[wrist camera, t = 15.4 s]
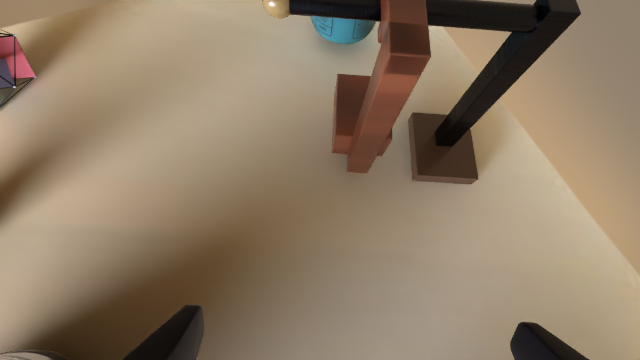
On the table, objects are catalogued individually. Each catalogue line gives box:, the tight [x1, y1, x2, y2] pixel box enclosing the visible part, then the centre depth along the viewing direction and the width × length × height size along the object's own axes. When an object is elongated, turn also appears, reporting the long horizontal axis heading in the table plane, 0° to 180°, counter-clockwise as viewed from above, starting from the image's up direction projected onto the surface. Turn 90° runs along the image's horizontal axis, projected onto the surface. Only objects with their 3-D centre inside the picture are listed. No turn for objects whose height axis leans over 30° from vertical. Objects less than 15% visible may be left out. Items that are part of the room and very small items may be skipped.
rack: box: [262, 0, 581, 184], centre depth 20 cm, size 6×16×14 cm, turn 87°
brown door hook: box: [332, 0, 431, 173], centre depth 18 cm, size 7×4×12 cm, turn 177°
